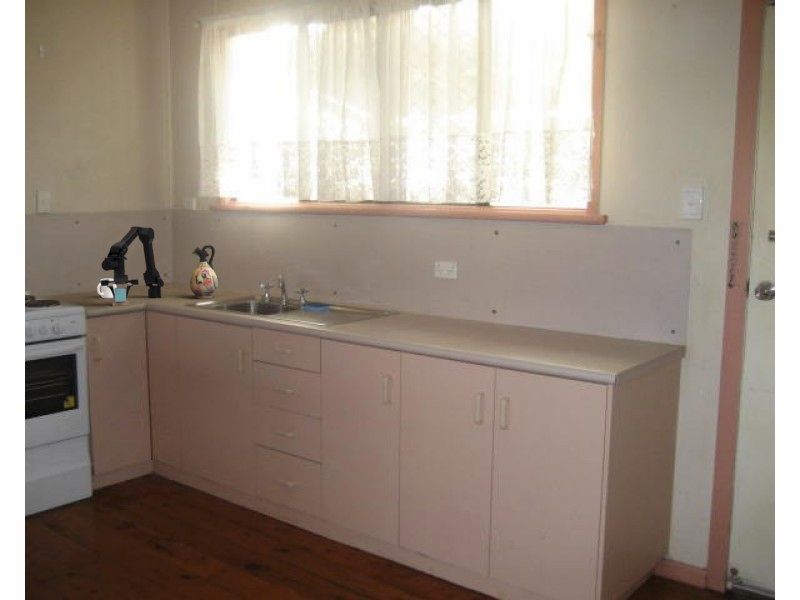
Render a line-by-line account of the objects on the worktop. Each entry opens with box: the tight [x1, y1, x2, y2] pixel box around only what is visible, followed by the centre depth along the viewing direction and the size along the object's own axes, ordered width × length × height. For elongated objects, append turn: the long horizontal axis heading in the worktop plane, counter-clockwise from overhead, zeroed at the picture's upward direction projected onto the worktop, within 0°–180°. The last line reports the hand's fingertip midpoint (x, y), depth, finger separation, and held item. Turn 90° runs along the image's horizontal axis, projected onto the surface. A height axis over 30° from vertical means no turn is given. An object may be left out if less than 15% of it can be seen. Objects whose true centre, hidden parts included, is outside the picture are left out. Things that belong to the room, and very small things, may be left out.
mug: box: [96, 277, 118, 299], centre depth 446 cm, size 12×8×10 cm
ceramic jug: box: [189, 244, 219, 300], centre depth 446 cm, size 17×15×30 cm
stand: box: [112, 300, 130, 307], centre depth 421 cm, size 8×8×7 cm
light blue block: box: [114, 287, 127, 302], centre depth 420 cm, size 6×6×7 cm
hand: (120, 298), depth 421 cm, fingers closed on light blue block, 5 cm apart
